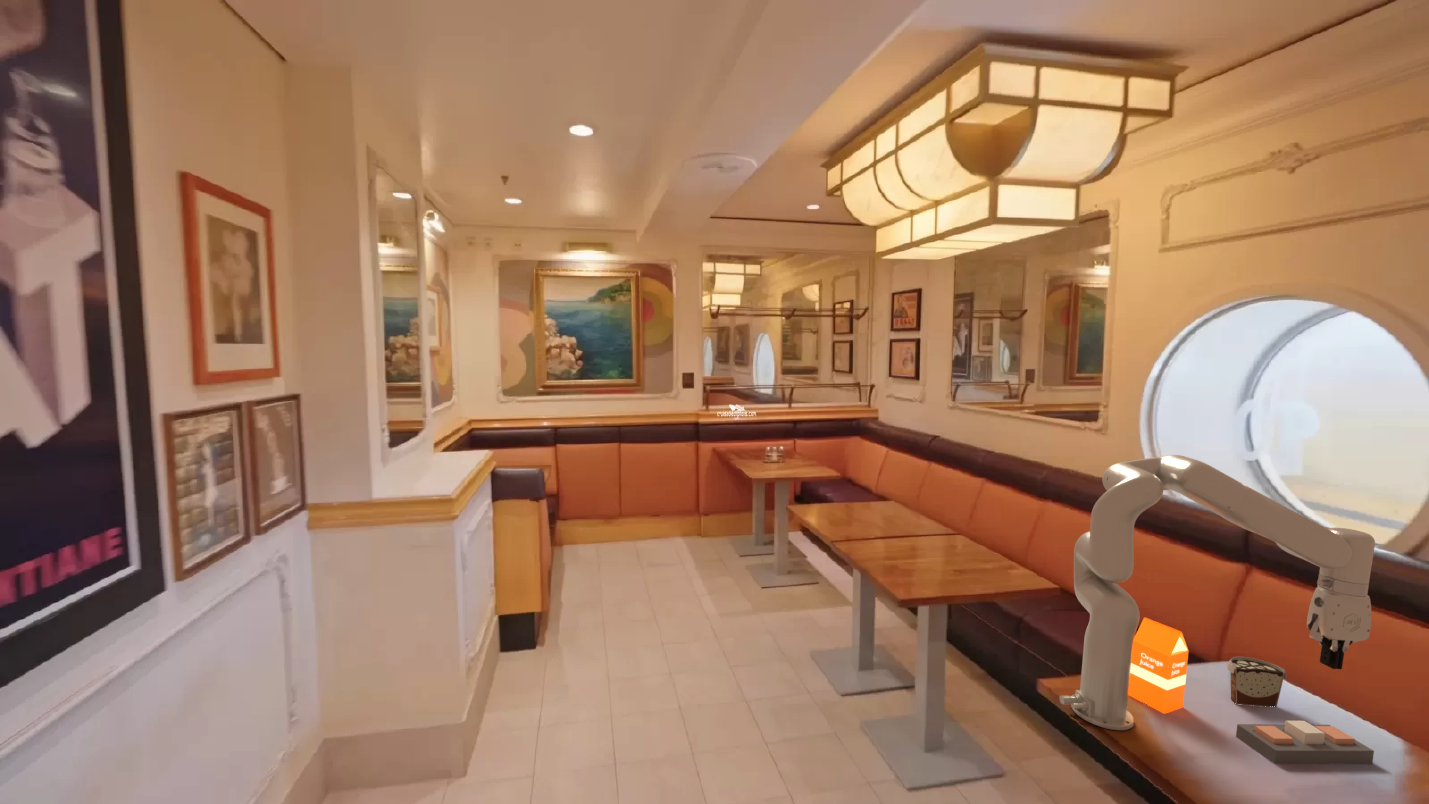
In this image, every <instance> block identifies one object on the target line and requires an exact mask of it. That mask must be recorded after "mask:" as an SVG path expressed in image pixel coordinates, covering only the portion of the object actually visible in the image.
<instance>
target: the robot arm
mask: <svg viewBox="0 0 1429 804" xmlns="http://www.w3.org/2000/svg"><path fill="white" fill-rule="evenodd" d="M1101 478H1102V480H1101V481H1102V485H1103V487H1104V489H1105V490H1106V491H1105V492H1103V494H1102V495H1101V496H1100V497H1099V498H1098V499H1097V501H1096V502H1095V504H1094V505H1093V508H1092V510H1091V514H1090V524H1089V525H1090V527H1089V531H1087V532H1084V533H1083V534H1081V535H1080V536H1079V537H1078V539H1077V540H1076V542H1075V544H1074V547H1073V587H1074V594H1075V596H1076V598H1077V600H1078V603H1080V604H1081V606H1082V607H1084V609H1085V610H1086V611H1087V613H1089V622H1088V625H1087V627H1086V630H1085V633H1084V641H1083V652H1082V661H1081V662H1082V665H1081V672H1080V673H1081V675H1080V686H1079V689H1075V692H1074V694H1073V693H1072V695H1059V703H1060V704H1062V705H1070V707H1071V708H1072V710H1073V712H1074V713H1075V714H1076V715H1077V716H1078V717H1080V718H1081V719H1083V720H1084V721H1086V722H1088V723H1091V724H1092V725H1095V726H1098V727H1101V728H1103V729H1107V730H1111V731H1112V730H1114V731H1127V730H1129V729H1131V728H1133V727H1134V722H1135V719H1134V716H1133V715H1132V713H1131V712H1130V711H1129V710H1127V709H1128V701H1129V700H1128V698H1129V695H1128V691H1129V680H1130V670H1131V659H1132V658H1131V657H1132V648H1133V641H1134V637H1135V635H1136V633H1137V631H1138V630H1137V629H1138V626H1139V624H1140V618H1141V617H1140V614H1141V613H1140V610H1139V606H1138V604H1137V602H1136V600H1135V599H1134V598H1133V596H1131V595H1130V593H1128V592H1127V591H1126V590H1125V589H1124V588H1123V587H1122V586H1121V585H1119V584H1121V583H1123V582H1126V581H1128V580H1129V578H1130V579H1131V576H1132V575H1133V572H1134V567H1135V564H1134V563H1135V561H1134V560H1135V559H1134V558H1135V555H1134V554H1135V553H1134V552H1135V551H1134V533H1135V532H1134V530H1135V524H1136V521H1137V519H1138V517H1139V516H1140V515H1141V514H1142V513H1144V512H1145V511H1146V510H1147V509H1149V508H1150V507H1153V506H1154V505H1155V504H1157V503H1159V501H1160V500H1161V498H1162V497H1163V495H1164V491H1174V492H1175V493H1179V494H1180V495H1182V496H1183V497H1186V498H1187V499H1188V500H1191V501H1193V502H1195V503H1197V504H1198V505H1200V506H1202V507H1204V508H1205V509H1206V510H1209V511H1211V512H1212V513H1214V514H1216V515H1218V516H1220V517H1221V518H1223V519H1225V520H1226V521H1228V522H1230V523H1232V524H1234V525H1236V526H1237V527H1240V528H1242V529H1244V530H1247V531H1249V532H1252V533H1254V534H1256V535H1259V536H1261V537H1264V538H1266V539H1268V540H1269V541H1272V542H1274V543H1275V544H1276V545H1277V546H1278V547H1279V548H1280V549H1281V550H1282V551H1284V552H1286V553H1288V554H1290V555H1292V556H1294V557H1297V558H1299V559H1301V560H1304V561H1306V562H1308V563H1310V564H1312V565H1315V566H1316V567H1319V573H1318V579H1317V581H1316V584H1317V587H1315V589H1314V590H1313V591H1314V592H1313V595H1312V596H1311V600H1310V603H1309V608H1308V610H1307V611H1308V612H1307V618H1306V628H1307V630H1309V634H1308V637H1309V638H1310V639H1312V640H1313V641H1316V642H1319V643H1318V644H1319V646H1321V650H1320V656H1319V662H1320V664H1323V665H1324V666H1327V667H1328V668H1331V669H1332V670H1342V669H1343V664H1344V657H1345V653H1346V652H1348V651H1349V647H1350V646H1351V645H1352V644H1355V643H1359V642H1361V641H1366V640H1368V639H1369V638H1370V634H1371V627H1372V604H1371V603H1372V602H1371V597H1370V595H1368V592H1369V587H1370V586H1369V585H1370V578H1371V572H1372V571H1371V570H1372V565H1373V559H1374V553H1375V546H1376V541H1375V538H1374V537H1373V536H1372V535H1371V534H1370V533H1367V532H1364V531H1362V530H1361V531H1360V530H1356V529H1352V528H1345V527H1344V528H1343V527H1327V526H1326V527H1325V526H1323V525H1321V524H1319V523H1317V522H1315V521H1314V520H1312V519H1309V518H1308V517H1306V516H1304V515H1302V514H1300V513H1299V512H1297V511H1295V510H1293V509H1291V508H1288V507H1287V506H1284V505H1283V504H1281V503H1279V502H1278V501H1276V500H1274V499H1272V498H1270V497H1268V496H1267V495H1264V494H1263V493H1260V492H1259V491H1257V490H1255V489H1253V488H1251V487H1249V486H1248V485H1246V484H1244V483H1242V482H1240V481H1239V480H1237V479H1235V478H1233V477H1231V476H1229V475H1227V474H1226V473H1224V472H1222V471H1221V470H1219V469H1217V468H1215V467H1213V466H1211V465H1209V464H1207V463H1206V462H1203V461H1201V460H1198V459H1193V458H1190V457H1188V456H1184V455H1179V454H1171V455H1170V454H1169V455H1163V456H1155V457H1149V458H1143V459H1135V460H1134V459H1133V460H1128V461H1121V462H1117V463H1114V464H1112V465H1110V466H1109V467H1107V468H1106V469H1105V471H1104V473H1103V474H1102V477H1101Z"/></svg>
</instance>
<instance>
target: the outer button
mask: <svg viewBox="0 0 1429 804" xmlns="http://www.w3.org/2000/svg"><path fill="white" fill-rule="evenodd" d="M1315 728H1317V729H1319V730H1320V731H1322V732H1324V733H1325V736H1324V738H1325V739H1327V740H1328V741H1330V742H1332V743H1333V744H1335V745H1354V741H1355V740H1356V738H1354V737H1353V736H1351V735H1349V734H1347V733H1346V732H1344V731H1342V730H1341V729H1339V728H1337V727H1336V726H1334V725H1333V726H1332V725H1331V726H1315Z"/></svg>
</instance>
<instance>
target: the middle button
mask: <svg viewBox="0 0 1429 804" xmlns="http://www.w3.org/2000/svg"><path fill="white" fill-rule="evenodd" d="M1284 724H1285V729H1284V732H1286V733H1287V734H1289V735H1290V736H1292V737H1294V738H1295V739H1297V740H1298V741H1300V742H1301V743H1303V744H1317V745H1323V744H1324V736H1325V733H1324V732H1322V731H1320V730H1319V729H1317V728H1315V727H1314V726H1312V725H1313V724H1310V723H1309V722H1307V721H1305V720H1285V722H1284Z"/></svg>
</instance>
